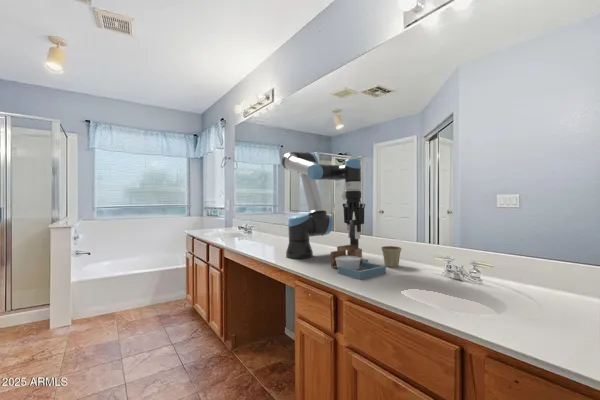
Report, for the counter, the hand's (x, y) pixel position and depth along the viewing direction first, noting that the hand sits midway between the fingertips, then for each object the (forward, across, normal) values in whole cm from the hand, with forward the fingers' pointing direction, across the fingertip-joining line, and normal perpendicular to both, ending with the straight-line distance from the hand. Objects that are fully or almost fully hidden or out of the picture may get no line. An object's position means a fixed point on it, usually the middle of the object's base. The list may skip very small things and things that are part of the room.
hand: (354, 238), depth 143 cm
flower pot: (+13, +14, +10) cm, 22 cm away
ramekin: (+13, +6, -10) cm, 18 cm away
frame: (+13, +14, -10) cm, 22 cm away
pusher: (+12, 0, -6) cm, 14 cm away
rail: (+13, -2, 0) cm, 13 cm away
